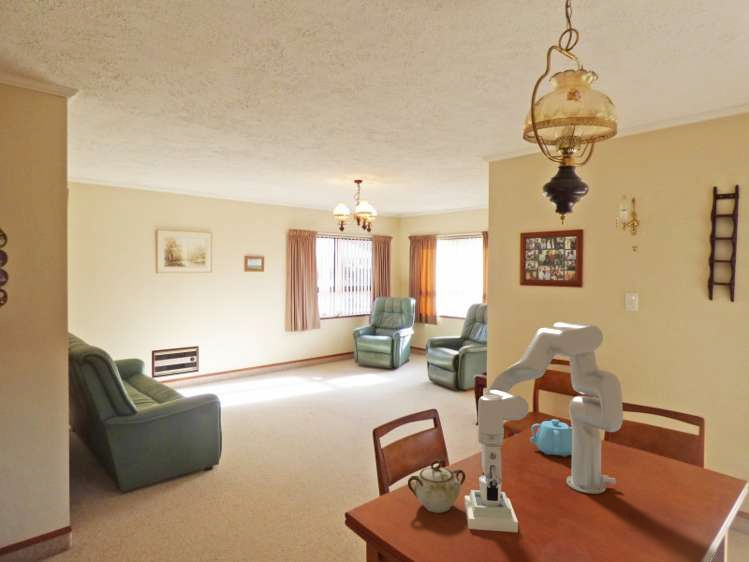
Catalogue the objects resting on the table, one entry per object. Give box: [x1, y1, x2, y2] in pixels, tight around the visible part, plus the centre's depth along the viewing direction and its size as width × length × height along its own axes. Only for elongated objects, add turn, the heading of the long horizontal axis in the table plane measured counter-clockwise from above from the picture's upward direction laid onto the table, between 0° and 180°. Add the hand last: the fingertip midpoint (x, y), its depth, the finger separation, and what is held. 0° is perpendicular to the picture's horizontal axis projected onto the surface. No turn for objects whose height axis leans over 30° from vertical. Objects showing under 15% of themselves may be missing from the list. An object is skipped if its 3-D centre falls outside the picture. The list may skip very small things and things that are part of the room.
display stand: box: [464, 489, 519, 533], centre depth 137 cm, size 14×14×6 cm
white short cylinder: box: [478, 474, 502, 507], centre depth 138 cm, size 7×7×7 cm
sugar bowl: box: [407, 459, 466, 514], centre depth 144 cm, size 20×15×15 cm
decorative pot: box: [529, 418, 572, 458], centre depth 190 cm, size 16×16×14 cm
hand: (489, 492), depth 137 cm, fingers open, 9 cm apart
